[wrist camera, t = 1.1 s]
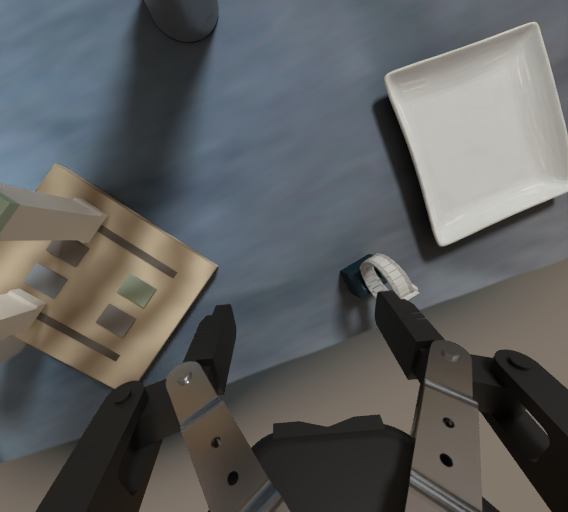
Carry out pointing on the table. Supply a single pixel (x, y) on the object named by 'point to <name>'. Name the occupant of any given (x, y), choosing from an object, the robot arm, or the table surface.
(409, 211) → the table surface
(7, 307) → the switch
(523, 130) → the square plate
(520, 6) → the table surface
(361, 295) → the watch
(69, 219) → the tall beige block
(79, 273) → the switch board
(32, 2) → the table surface
